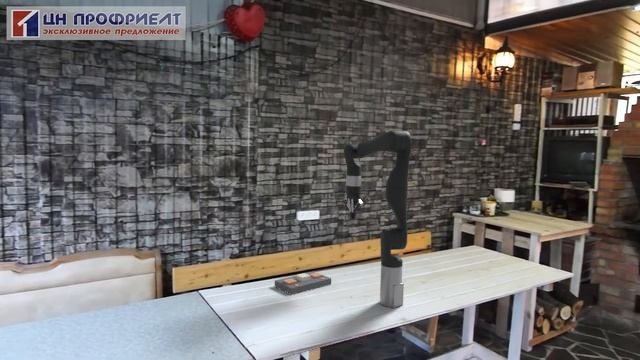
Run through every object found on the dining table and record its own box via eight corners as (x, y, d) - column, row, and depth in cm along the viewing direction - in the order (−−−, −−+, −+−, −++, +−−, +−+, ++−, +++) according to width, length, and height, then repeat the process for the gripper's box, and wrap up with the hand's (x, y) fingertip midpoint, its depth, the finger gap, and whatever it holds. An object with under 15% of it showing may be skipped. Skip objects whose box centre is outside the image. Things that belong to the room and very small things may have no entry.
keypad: (331, 284, 203) (331, 277, 203) (291, 294, 188) (291, 288, 188) (313, 277, 214) (313, 271, 214) (274, 286, 199) (274, 280, 199)
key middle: (310, 281, 201) (310, 275, 200) (302, 283, 198) (302, 277, 197) (304, 279, 205) (304, 273, 204) (296, 281, 201) (296, 275, 201)
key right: (323, 280, 206) (323, 274, 206) (315, 282, 203) (315, 276, 202) (316, 277, 210) (316, 272, 209) (309, 279, 206) (309, 274, 206)
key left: (297, 287, 196) (297, 280, 195) (288, 289, 193) (288, 283, 192) (291, 284, 200) (291, 278, 199) (282, 286, 196) (282, 280, 196)
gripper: (368, 185, 200) (367, 220, 201) (349, 183, 210) (349, 216, 211) (357, 186, 195) (356, 222, 196) (339, 184, 205) (338, 218, 207)
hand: (352, 219), depth 204 cm, fingers closed
